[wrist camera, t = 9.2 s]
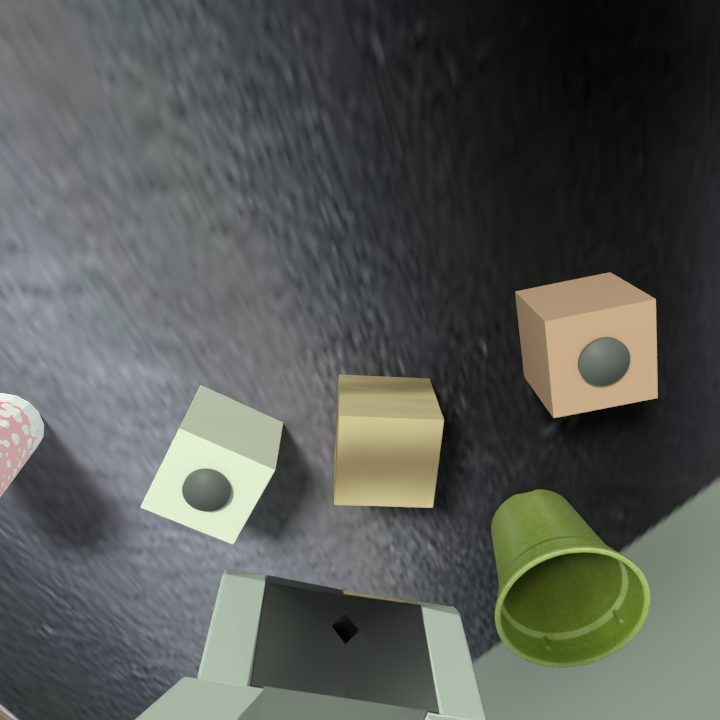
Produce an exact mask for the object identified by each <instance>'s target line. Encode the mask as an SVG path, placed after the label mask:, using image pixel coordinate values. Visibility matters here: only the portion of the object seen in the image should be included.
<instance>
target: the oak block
mask: <svg viewBox="0 0 720 720" xmlns="http://www.w3.org/2000/svg"><path fill="white" fill-rule="evenodd" d="M443 425H444V418H443V415H442V413H441V410H440V407H439V404H438V401H437V398H436V396H435V393H434V390H433V387H432V384H431V381H430V379H426V378H404V377H381V376H358V375H339V382H338V400H337V418H336V436H335V456H334V505H358V506H390V507H421V508H433V503H434V496H435V488H436V480H437V472H438V464H439V456H440V448H441V440H442V433H443Z"/></svg>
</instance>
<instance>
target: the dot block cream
mask: <svg viewBox="0 0 720 720" xmlns="http://www.w3.org/2000/svg"><path fill="white" fill-rule="evenodd" d="M282 427H283V422H281V421H278V420H276V419H274V418H272V417H270V416H267V415H265V414H263V413H261V412H259V411H256V410H254V409H252V408H250V407H248V406H245V405H243V404H241V403H239V402H237V401H234V400H232V399H230V398H228V397H226V396H223V395H221V394H219V393H217V392H215V391H212V390H210V389H208V388H206V387H204V386H201V385H200V387H199V389H198V391H197V393H196V395H195V397H194V399H193V401H192V403H191V405H190V407H189V409H188V411H187V413H186V415H185V417H184V420H183V422H182V424H181V426H180V428H179V430H178V432H177V434H176V436H175V438H174V440H173V442H172V444H171V446H170V448H169V450H168V452H167V454H166V456H165V458H164V460H163V462H162V464H161V466H160V468H159V470H158V472H157V474H156V476H155V479H154V481H153V483H152V485H151V487H150V489H149V491H148V493H147V495H146V497H145V499H144V501H143V503H142V505H141V508H143V509H146V510H148V511H151V512H153V513H156V514H158V515H161V516H163V517H166V518H168V519H171V520H173V521H175V522H178V523H180V524H183V525H185V526H188V527H190V528H193V529H195V530H198V531H200V532H203V533H205V534H208V535H210V536H213V537H215V538H218V539H220V540H223V541H225V542H228V543H230V544H234V542H235V540H236V538H237V537H238V535H239V533H240V531H241V530H242V528H243V526H244V524H245V523H246V521H247V519H248V517H249V516H250V514H251V512H252V510H253V508H254V507H255V505H256V503H257V501H258V500H259V498H260V496H261V494H262V493H263V491H264V489H265V487H266V486H267V484H268V482H269V480H270V479H271V477H272V475H273V473H274V472H275V469H276V463H277V457H278V451H279V445H280V439H281V433H282Z"/></svg>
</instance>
